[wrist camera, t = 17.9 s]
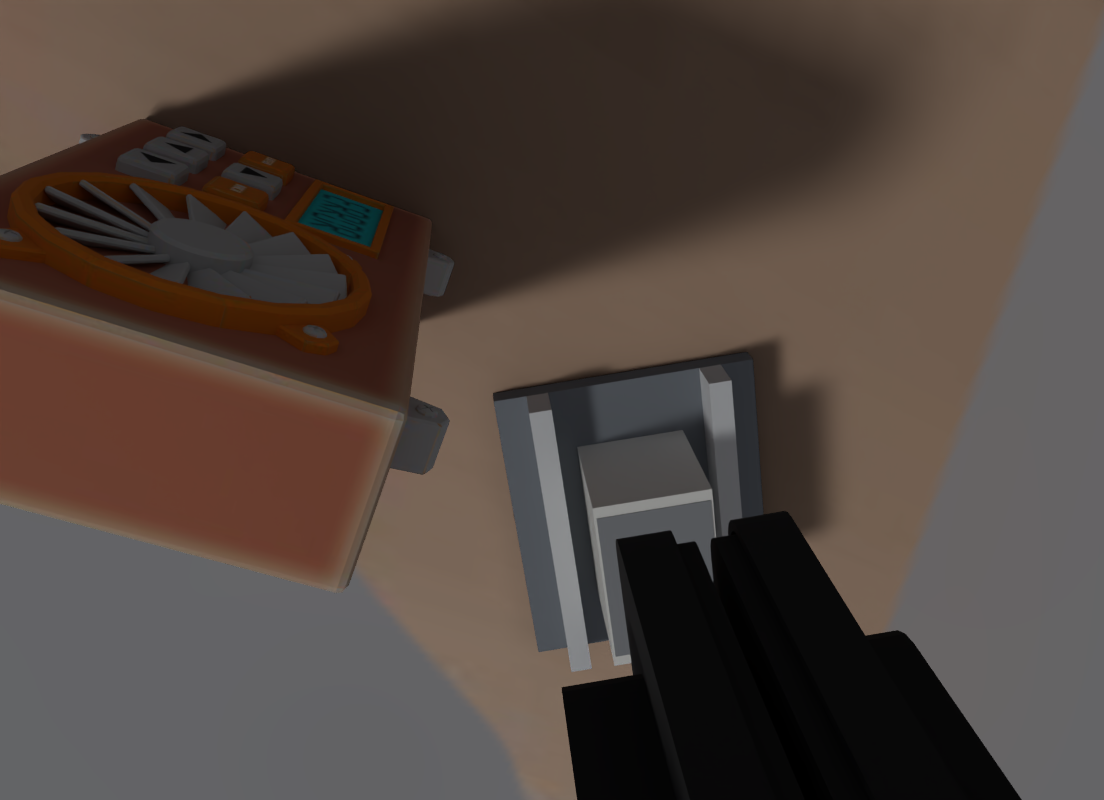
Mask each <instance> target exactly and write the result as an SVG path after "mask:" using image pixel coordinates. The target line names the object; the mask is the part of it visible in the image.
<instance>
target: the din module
mask: <svg viewBox="0 0 1104 800" xmlns="http://www.w3.org/2000/svg"><path fill="white" fill-rule="evenodd" d="M577 449H578V456H579V463H580V470H581V477H582V484H583V491H584V498H585V505H586V512H587V519H588V526H589V533H590V540H591V547H592V554H593V561H594V568H595V575H596V582H597V589H598V594H599V598H600V603H601V607H602V612H603V616H604V621H605V625H606V630H607V634H608V638H609V643H610V647H611V652H612V656H613V661H614V665H615V666H616V665H622V664H628V663H631V656H630V648H629V641H628V634H627V626H626V619H625V612H624V604H623V597H622V590H621V582H620V575H619V567H618V560H617V552H616V539H620V538H626V537H632V536H638V535H644V534H650V533H656V532H662V531H668V530H670V531H672V533H673V535H674V538H675V540H676V543H677V544H680V543H686V542H692V541H695V542H696V543H697V545H698V547H699V550H700V552H701V555H702V557H703V559H704V562H705V564H706V566H707V569H708V571H709V574H710V576H711V578H712V581H713V572H712V561H711V548H710V544H711V539H712V538H716V529H715V518H714V506H713V495H712V488H711V486H710V484H709V482H708V480H707V478H706V476H705V474H704V472H703V470H702V468H701V466H700V464H699V462H698V460H697V458H696V456H695V454H694V452H693V450H692V448H691V446H690V444H689V442H688V440H687V438H686V436H685V434H684V432H683V430H679V431H673V432H666V433H660V434H654V435H648V436H642V437H636V438H629V439H623V440H617V441H611V442H605V443H598V444H592V445H586V446H580V447H577Z"/></svg>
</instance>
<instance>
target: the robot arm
mask: <svg viewBox="0 0 1104 800" xmlns="http://www.w3.org/2000/svg"><path fill="white" fill-rule="evenodd" d="M710 548H711V561H712V572H713V581H712V578H711V576H710V574H709V571H708V569H707V566H706V564H705V562H704V559H703V557H702V555H701V552H700V550H699V547H698V545H697V543H696V542H695V541H692V542H686V543H680V544H677V543H676V540H675V538H674V535H673V533H672V531H670V530H668V531H662V532H656V533H650V534H644V535H638V536H632V537H626V538H620V539H616V552H617V560H618V567H619V575H620V582H621V590H622V597H623V604H624V612H625V619H626V626H627V634H628V641H629V648H630V656H631V663H632V671H633V675H632V676H626V677H620V678H614V679H608V680H602V681H597V682H591V683H585V684H579V685H573V686H567V687H562V694H563V702H564V709H565V716H566V723H567V730H568V737H569V744H570V751H571V758H572V765H573V773H574V780H575V787H576V794H577V800H1021V798H1020V797H1019V795H1018V794H1017V792H1016V791H1015V790H1014V788H1013V787H1012V785H1011V784H1010V782H1009V781H1008V780H1007V778H1006V776H1005V775H1004V774H1003V772H1002V771H1001V769H1000V768H999V766H998V765H997V763H996V762H995V760H994V759H993V758H992V756H991V755H990V753H989V752H988V751H987V749H986V748H985V746H984V744H983V743H982V742H981V740H980V739H979V737H978V736H977V734H976V733H975V732H974V730H973V729H972V727H971V726H970V724H969V723H968V721H967V720H966V718H965V717H964V715H963V714H962V713H961V711H960V710H959V708H958V707H957V705H956V704H955V702H954V701H953V700H952V698H951V697H950V695H949V694H948V692H947V691H946V689H945V688H944V687H943V685H942V683H941V682H940V681H939V679H938V678H937V676H936V675H935V673H934V672H933V670H932V669H931V668H930V666H929V665H928V663H927V662H926V660H925V659H924V657H923V656H922V655H921V653H920V652H919V650H918V649H917V647H916V646H915V644H914V643H913V642H912V641H911V640H910V639H909V638H908V636H907V635H906V634H905V633H902V632H900V631H898V630H897V631H891V632H885V633H879V634H873V635H867V636H865V634H864V633H863V631H862V630H861V628H860V626H859V625H858V623H857V622H856V620H855V618H854V617H853V615H852V614H851V612H850V610H849V609H848V607H847V606H846V604H845V602H844V601H843V599H842V598H841V596H840V594H839V593H838V591H837V589H836V588H835V586H834V585H833V583H832V581H831V580H830V578H829V577H828V575H827V573H826V572H825V570H824V569H823V567H822V565H821V564H820V562H819V561H818V559H817V557H816V556H815V554H814V552H813V551H812V549H811V548H810V546H809V544H808V543H807V541H806V540H805V538H804V536H803V535H802V533H801V532H800V530H799V528H798V527H797V525H796V524H795V522H794V520H793V519H792V517H791V516H790V515H789V513H788V512H786V511H782V512H776V513H770V514H764V515H758V516H752V517H746V518H740V519H734V520H730V522H729V524H728V536H722V537H716V538H712V539H711V544H710Z"/></svg>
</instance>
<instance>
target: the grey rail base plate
mask: <svg viewBox="0 0 1104 800" xmlns="http://www.w3.org/2000/svg"><path fill="white" fill-rule="evenodd" d="M493 399H494V406H495V411H496V417H497V423H498V428H499V434H500V439H501V445H502V451H503V456H504V462H505V467H506V473H507V478H508V484H509V490H510V495H511V501H512V506H513V512H514V517H515V523H516V529H517V534H518V540H519V545H520V551H521V556H522V562H523V568H524V573H525V579H526V584H527V590H528V596H529V601H530V607H531V612H532V618H533V623H534V629H535V635H536V640H537V646H538V651H539V652H542V651H548V650H554V649H560V648H566V647H568V653H569V659H570V665H571V671H572V672H574V671H580V670H586V669H592V667H591V661H590V654H589V648H588V644H589V643H595V642H601V641H607V640H609V638H608V634H607V630H606V625H605V621H604V616H603V612H602V607H601V603H600V598H599V594H598V589H597V582H596V575H595V568H594V561H593V554H592V547H591V540H590V533H589V526H588V519H587V512H586V505H585V498H584V491H583V484H582V477H581V470H580V463H579V456H578V449H577V447H580V446H586V445H592V444H598V443H605V442H611V441H617V440H623V439H629V438H636V437H642V436H648V435H654V434H660V433H666V432H673V431H679V430H683V432H684V434H685V436H686V438H687V440H688V442H689V444H690V446H691V448H692V450H693V452H694V454H695V456H696V458H697V460H698V462H699V464H700V466H701V468H702V470H703V472H704V474H705V476H706V478H707V480H708V482H709V484H710V486H711V488H712V495H713V506H714V518H715V529H716V537H722V536H728V524H729V522H730V520H734V519H740V518H746V517H752V516H758V515H763V501H762V486H761V471H760V456H759V442H758V427H757V412H756V397H755V383H754V368H753V359H752V357H751V356H750V355H749V354H748V352H744V353H738V354H732V355H725V356H719V357H713V358H707V359H701V360H695V361H689V362H683V363H677V364H670V365H664V366H658V367H652V368H646V369H640V370H634V371H628V372H621V373H615V374H609V375H603V376H597V377H591V378H585V379H579V380H572V381H566V382H560V383H554V384H548V385H542V386H536V387H530V388H523V389H517V390H511V391H505V392H499V393H493Z"/></svg>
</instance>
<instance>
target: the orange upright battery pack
mask: <svg viewBox="0 0 1104 800" xmlns="http://www.w3.org/2000/svg"><path fill="white" fill-rule="evenodd" d="M431 231H432V221H430V220H429V219H428V218H425V217H423V216H420V215H417V214H414V213H411V212H408V211H405V210H403V209H400V208H397V207H394V206H391V205H388V204H386V203H383V202H380V201H377V200H374V199H371V198H368V197H366V196H363V195H360V194H357V193H354V192H351V191H349V190H346V189H343V188H340V187H337V186H334V185H331V184H329V183H326V182H323V181H320V180H317V179H314V178H311V177H309V176H306V175H303V174H300V173H297V172H295V169H294V166H292V165H291V164H288V163H286V162H283V161H280V160H277V159H274V158H271V157H269V156H266V155H263V154H260V153H257V152H254V151H249V152H247V153H246V154H243V153H240V152H237V151H235V150H232V149H229V148H226V143H225V142H224V141H223V140H220V139H217V138H215V137H212V136H209V135H206V134H203V133H200V132H198V131H195V130H192V129H189V128H186V127H183V126H182V127H178V128H175V129H172V128H169V127H166V126H163V125H160V124H158V123H155V122H152V121H149V120H146V119H140V120H137V121H135V122H132V123H130V124H127V125H125V126H122V127H120V128H117V129H115V130H112V131H110V132H107V133H105V134H102V135H96V134H82V135H81V137H80V141H79V144H78V145H75V146H73V147H70V148H68V149H65V150H63V151H60V152H58V153H55V154H53V155H50V156H48V157H45V158H43V159H40V160H38V161H35V162H33V163H30V164H28V165H25V166H23V167H21V168H18V169H16V170H13V171H11V172H8V173H6V174H3V175H1V176H0V504H3V505H7V506H10V507H15V508H18V509H22V510H25V511H30V512H33V513H37V514H41V515H45V516H48V517H52V518H56V519H59V520H63V521H67V522H71V523H75V524H79V525H82V526H86V527H90V528H93V529H98V530H101V531H105V532H108V533H112V534H116V535H120V536H124V537H128V538H131V539H135V540H139V541H142V542H146V543H150V544H154V545H158V546H162V547H165V548H169V549H173V550H176V551H180V552H184V553H188V554H191V555H195V556H199V557H203V558H206V559H210V560H214V561H218V562H222V563H225V564H229V565H233V566H237V567H240V568H244V569H248V570H252V571H255V572H259V573H263V574H267V575H271V576H274V577H278V578H282V579H286V580H289V581H293V582H297V583H301V584H305V585H309V586H312V587H316V588H320V589H324V590H327V591H331V592H335V593H339V592H342V591H343V590H344V589H345V588H346V587H347V586H348V585H349V583H350V580H351V577H352V574H353V571H354V569H355V566H356V563H357V560H358V557H359V554H360V551H361V549H362V546H363V543H364V540H365V537H366V534H367V532H368V529H369V526H370V523H371V520H372V517H373V514H374V512H375V509H376V506H377V503H378V500H379V497H380V495H381V492H382V489H383V486H384V483H385V480H386V477H387V475H388V472H389V469H390V468H393V469H398V470H403V471H407V472H412V473H417V474H425V473H427V472H428V471H429V470H430V469H432V468H433V465H434V463H435V460H436V457H437V454H438V452H439V449H440V446H441V444H442V441H443V438H444V435H445V433H446V430H447V427H448V425H449V422H450V420H449V419H448V417H447V416H446V415H445V413H444V412H443V411H442V409H440V408H437V407H435V406H432V405H430V404H427V403H425V402H423V401H420V400H418V399H415V398H413V397H410V393H411V385H412V377H413V370H414V362H415V354H416V347H417V339H418V331H419V323H420V316H421V308H422V300H423V293H424V294H426V295H429V296H435V297H439V296H442V295H444V292H445V289H446V286H447V283H448V281H449V278H450V275H451V272H452V269H453V266H454V261H453V260H452V259H451V258H450V257H448V256H446V255H444V254H442V253H439V252H435V251H433V250H431V249H429V246H430V239H431Z"/></svg>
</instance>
